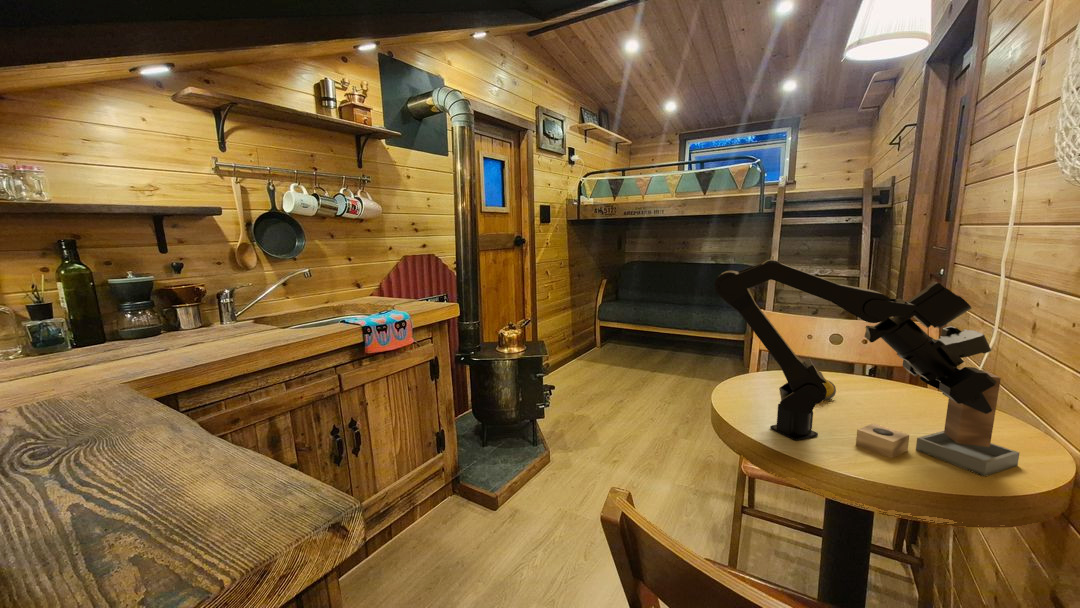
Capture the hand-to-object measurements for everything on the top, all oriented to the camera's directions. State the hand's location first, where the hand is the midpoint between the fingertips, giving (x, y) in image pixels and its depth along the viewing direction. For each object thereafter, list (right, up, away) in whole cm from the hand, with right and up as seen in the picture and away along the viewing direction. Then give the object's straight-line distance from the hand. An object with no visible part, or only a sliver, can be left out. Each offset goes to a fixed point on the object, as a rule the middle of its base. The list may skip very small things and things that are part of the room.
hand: (980, 406), depth 75 cm
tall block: (-1, -6, +1) cm, 7 cm away
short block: (-13, -10, +6) cm, 17 cm away
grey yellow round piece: (-7, -6, +31) cm, 33 cm away
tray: (-1, -10, +2) cm, 10 cm away
